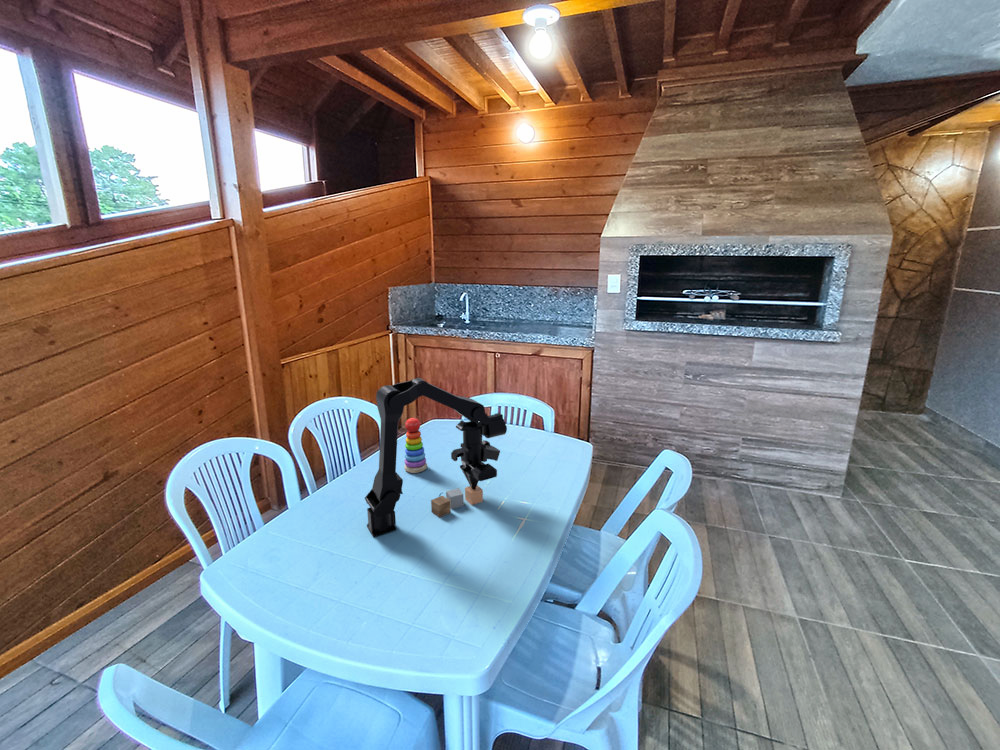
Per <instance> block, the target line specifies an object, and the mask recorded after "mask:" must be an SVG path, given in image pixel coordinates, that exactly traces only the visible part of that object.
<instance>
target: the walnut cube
mask: <svg viewBox="0 0 1000 750" xmlns="http://www.w3.org/2000/svg"><path fill="white" fill-rule="evenodd" d="M430 506H431V507H430V508H431V513H432V514H434V515H435V516H436V517H438V518H441V517H444V516H446V515H449V514H451V510H452V509H451V508H450V500H448V499H447V498H446V496H443V495H440V496H438V497H434V498H433V499H431V500H430Z"/></svg>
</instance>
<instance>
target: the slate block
mask: <svg viewBox="0 0 1000 750" xmlns="http://www.w3.org/2000/svg"><path fill="white" fill-rule="evenodd" d="M445 498H447V499H448V500H450V508H451V510H453V509H457V508H460V507H464V505H465V504H464V500H465V499H464V493H463V492H462V490H461V489H460V488H454V489H450V490H446V491H445Z"/></svg>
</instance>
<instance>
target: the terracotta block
mask: <svg viewBox="0 0 1000 750" xmlns="http://www.w3.org/2000/svg"><path fill="white" fill-rule="evenodd" d="M464 498H465V499H464V500H465V501H466V502H467V503H468V504H470V505H471V506H474V505H476V504H479V503H482V502H484V490H483V488H481V487H480V486H479V485H478V484H477V487H476V489H474V490H473V489H472V488H471V486H470V485H469V486H465V488H464Z"/></svg>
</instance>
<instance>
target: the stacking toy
mask: <svg viewBox="0 0 1000 750" xmlns="http://www.w3.org/2000/svg"><path fill="white" fill-rule="evenodd" d="M404 427H405V429H406V430H407V431H406V433H405V436H406V438H405V445H404V447H405V449H404V452H405V454H404V458H405V459H404V466H403V468H404V470H405V471H406V472H407V473H413V474H415V473H416V474H418V473H421V472H424V471H425V470H426V469H427V468H428V463H427V458H426V453H425V448H424V444H423V441H422V440H423V439H422V435H421V434H422V433H421V430H420V428H421V422H420V421H419V419H418V418H416V417H411V418H408V419H406V421H405V425H404Z"/></svg>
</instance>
